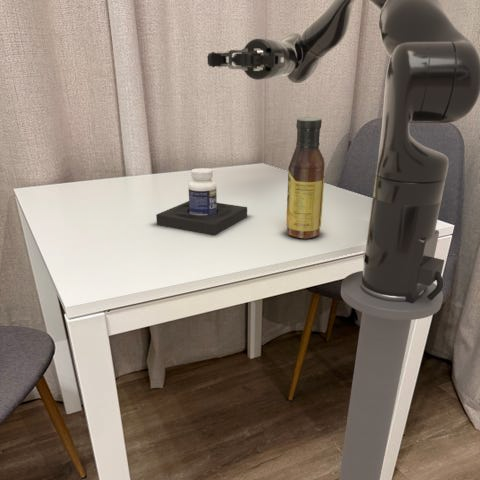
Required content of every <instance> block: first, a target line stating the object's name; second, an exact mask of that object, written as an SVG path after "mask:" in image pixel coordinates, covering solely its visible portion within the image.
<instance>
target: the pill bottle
mask: <svg viewBox="0 0 480 480" xmlns="http://www.w3.org/2000/svg"><path fill="white" fill-rule="evenodd" d="M213 175H214V173H213V170H212V169H211V168H207V167H206V168H204V167H200V168H193V169H191V175H190V177H191V179H192V180H191V181H189V183H188V186H187V187H188V188H187V189H188V201H189V211H190V214H193V215H211V214H215V213H217V203H218V201H217V199H218V198H217V197H218V196H217V184H216V182H215V181H214V180H212V179H213Z"/></svg>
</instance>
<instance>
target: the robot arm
mask: <svg viewBox="0 0 480 480" xmlns="http://www.w3.org/2000/svg"><path fill="white" fill-rule="evenodd" d="M356 1H357V0H332V2H331V3H330V4H329V5H328V6H327V8H326V9H325V10H324V11H323V12H322V13H321V14H320V15H319V16H317V18H316V19H314V21H312V22H311V23H310V24H309V25H308V26H307V27H306V28H305V29H303V31H302V32H301V34H300V33H295V32H294V33H291V34H289V35H287V36H286V37H284V38H283V39H281V41H278V40H277V39H269V38H254V39H251V40H250V41H248V42H247V43H246V44H245V46H244V47H243V48H239V49H227V50H226V51H225V52H221V51H217V52H215V51H212V52H209V53H208V54H207V56H206V57H207V65H208V67H212V68H215V67H216V68H217V67H218V68H221V67H224V68H226V69H227V70H238V71H243V72H244V73H245V74H246V75H247V77H249V78H250V79H252V80H255V81H260V80H270V79H275V78H280V77H286V79H287V80H288V81H289V82H290V83H291V84H296V85H299V84H302V83H304V82H306V81H307V80H309V79H310V78H311V77H312V75H314V73H315V72H316V70H317V68H318V67H319V65H320V63H321V61H322V60H323V59H324V58H325V56H327V55H328V54H329V53H330V52H331V51H333V50H334V49H336V47H338V46H339V45H340V44H341V43H342V42H343V40H344V39H345V37H346V35H347V33H348V31H349V28H350V24H351V20H352V14H353V9H354V6H355V3H356ZM367 1H368V2H369V3H370V4H371V5H372V6H373V7H374V8H375V9H376V10H377V11H378V12H379V17H378V33H379V36H380V40H381V43H382V47H383V49H384V51H385V52H386V54H387V55H388V56H389V61H388V64H387V69H386V75H385V83H384V94H383V107H382V121H381V128H380V129H381V130H380V136H379V137H380V138H379V146H378V156H377V163H376V168H375V169H376V170H375V177H374V184H373V185H374V186H373V192H372V200H371V207H370V215H369V221H368V229H367V237H366V244H365V249H364V250H363V255H362V257H363V258H362V259H363V260H362V261H363V266H362V270H361V271H362V279H361V283H360V287H361V289H362V290H363V291H364V292H365V293H367V294H368V295H370V296H373V297H375V298H378V299H382V300H387V301H397V302H409V303H414V302H415V301H416V300H417V299H418V298H420V297H421V296H422V295H423V294H424V293H425V292H426V291H427V289H428V286H430V285H431V284H432V283H434V282H436V285H437V286H436V288H435V289H434V290H433V291H432V292H431V293H430V294H429V295H428V296H427V298H428V299H430V300H432V299H433V298H434V297H436V296H437V295H438V294H439V293H440V292H441V291H443V288H444V280H443V277H442V273H443V270H444V269H443V268H444V263H445V259H442V258H439V257H435V256H436V255H435V254H436V250H437V245H438V242H439V241H438V240H439V237H440V231H439V230H438V229H436V228H437V224H438V219H439V214H440V210H441V209H440V208H441V203H442V199H443V195H444V189H445V186H446V180H447V177H448V170H449V165H450V163H449V161H450V160H449V158H448V156H447V155H445V154H444V153H442V152H440V151H438V150H435V149H432V148H430V147H427V146H425V145H423V144H421V143H420V142H418V141H417V140H416V139H415V138H413V137H412V135H411V133H410V125H411V124H447V123H454V122H457V121H460V120H462V119H464V118H465V117H466V116H468V115H469V114H470V113H471V112H472V110H473V109H474V107H475V106H476V105H477V102H478V100H479V97H480V54H479V52H478V49H477V47H476V46H475V44H473V42H472V41H471V40H469V39H468V37H466V36H465V35H464V34H463V33H462V32H460V30H458V28H456V26H455V25H454V23H452V21H451V19H450V18H449V17H448V15H447V13H446V12H445V10H444V7H443V5H442V4H441V1H440V0H367Z"/></svg>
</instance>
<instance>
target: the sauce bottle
mask: <svg viewBox="0 0 480 480" xmlns="http://www.w3.org/2000/svg"><path fill="white" fill-rule="evenodd" d="M322 121H323V119H322V118H321V117H317V116H302V117H301V116H300V117H298V118H296V123H295V124H296V126H295V127H296V130H297V131H296V143H295V149H294V151H293V154H292V156H291V160H290V162H289V165H288V169H287V194H286V195H287V196H286V197H287V198H286V221H285V222H286V232H287V234H288V236H291V237H293V238H297V239H302V240H303V239H305V240H308V239H312V238H316V237H318V236H319V235H320V233H321V232H320V230H321V226H322V218H323V217H322V216H323V202H324V187H325V165H326V163H325V158H324V156H323V153H322V152H321V149H320V148H319V146H320V134H321V128H322Z"/></svg>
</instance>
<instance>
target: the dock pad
mask: <svg viewBox="0 0 480 480" xmlns="http://www.w3.org/2000/svg"><path fill="white" fill-rule="evenodd" d="M155 216H156V225H157V226H163V227H169V228H173V229H174V228H175V229H178V230H184V231H190V232H195V233H200V234H201V233H202V234H208V235H213V236H216V235H217V234H219V233H220V232H223V231H224V230H226V229H228V228H229V227H231V226H234V225H235V224H237V223H239V222H241V221H242V220H244V219H245V218H248V206H243V205H242V206H241V205H235V204H228V203H222V202H217V213H215V214H211V215H193V214H190V211H189V200H187V201H185V202H183V203H180V204H178V205H175V206H173V207H171V208H168V209H166V210H164V211H161V212H159V213H157V214H156V215H155Z"/></svg>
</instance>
